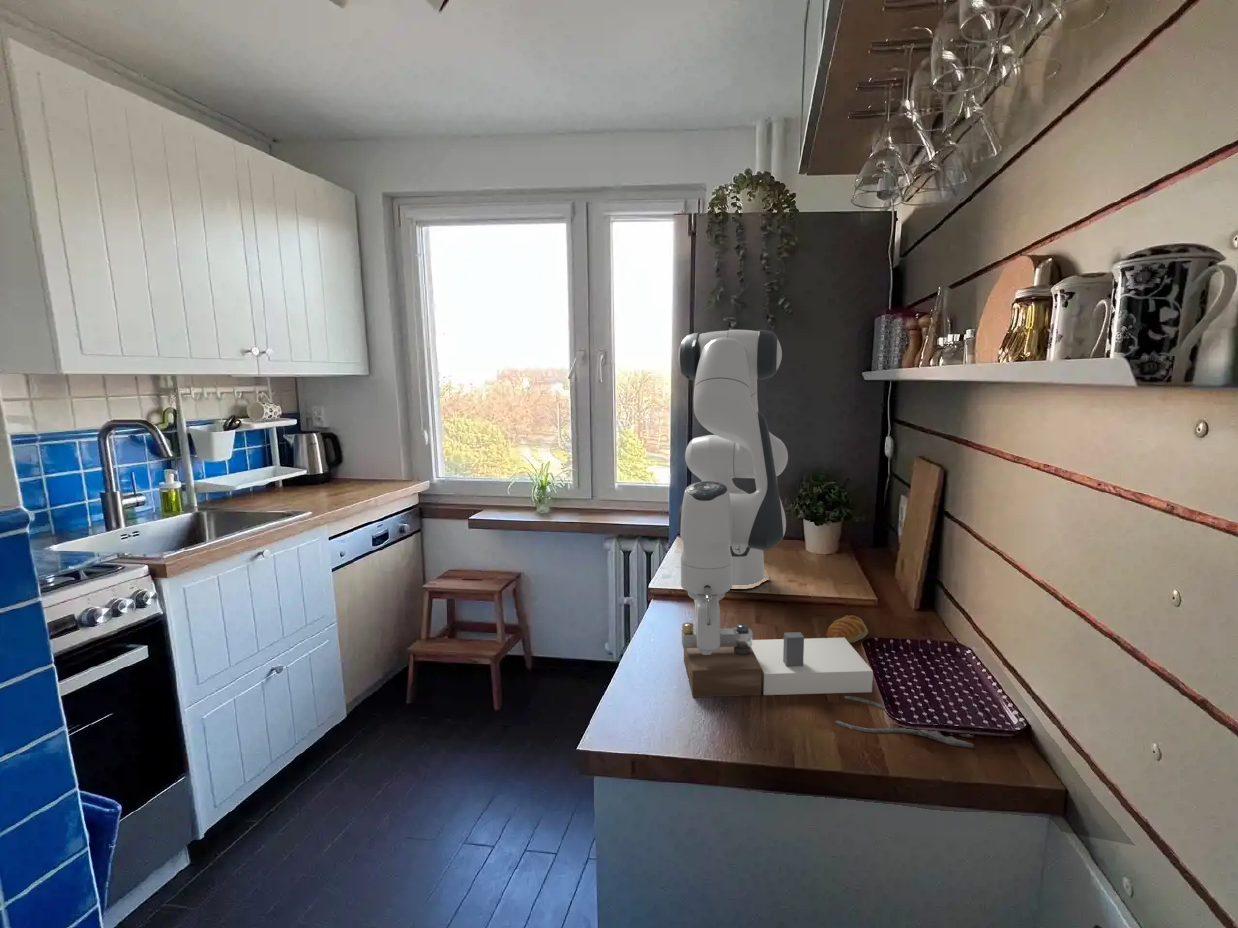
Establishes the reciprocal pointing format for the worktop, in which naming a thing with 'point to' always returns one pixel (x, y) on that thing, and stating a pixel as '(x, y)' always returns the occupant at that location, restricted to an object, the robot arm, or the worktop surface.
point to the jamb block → (723, 672)
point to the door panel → (811, 666)
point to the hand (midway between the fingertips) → (706, 650)
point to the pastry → (848, 629)
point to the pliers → (926, 733)
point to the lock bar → (728, 636)
